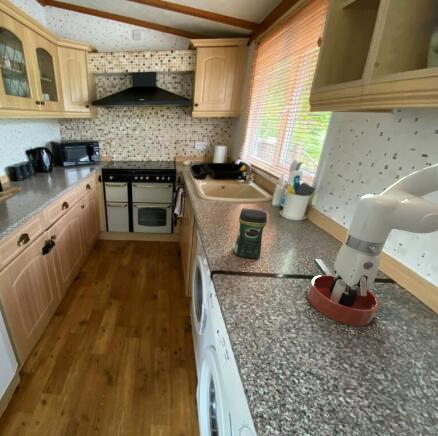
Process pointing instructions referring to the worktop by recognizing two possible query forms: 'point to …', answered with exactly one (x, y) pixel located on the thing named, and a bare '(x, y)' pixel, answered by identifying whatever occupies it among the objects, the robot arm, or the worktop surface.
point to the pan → (353, 315)
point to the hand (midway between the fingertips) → (340, 298)
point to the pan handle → (322, 267)
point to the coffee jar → (250, 233)
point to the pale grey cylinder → (339, 290)
